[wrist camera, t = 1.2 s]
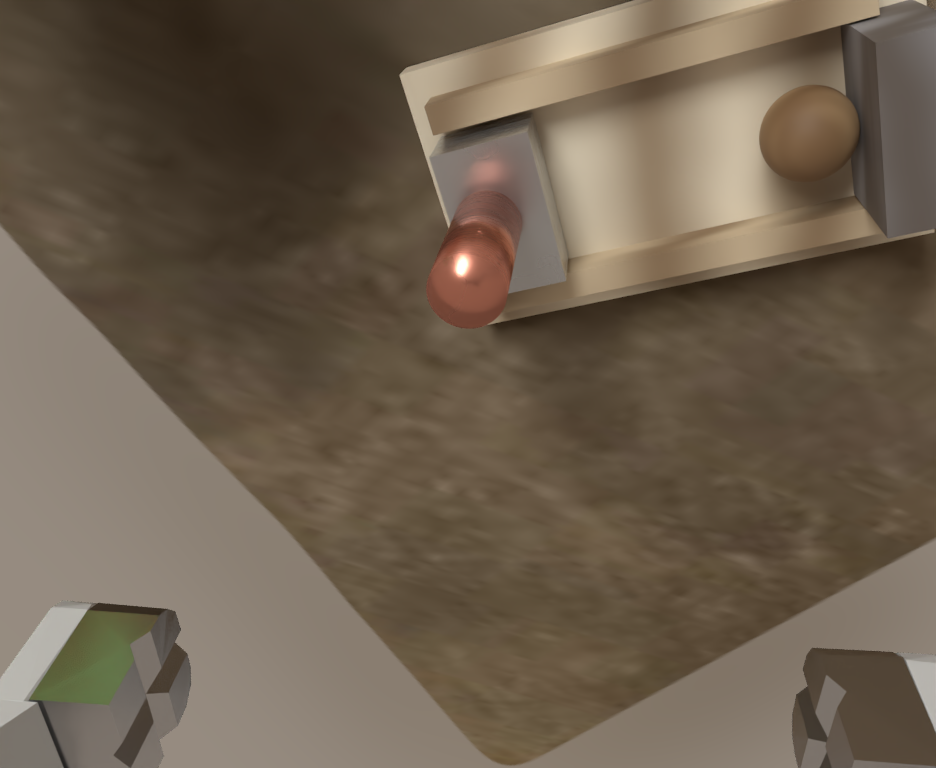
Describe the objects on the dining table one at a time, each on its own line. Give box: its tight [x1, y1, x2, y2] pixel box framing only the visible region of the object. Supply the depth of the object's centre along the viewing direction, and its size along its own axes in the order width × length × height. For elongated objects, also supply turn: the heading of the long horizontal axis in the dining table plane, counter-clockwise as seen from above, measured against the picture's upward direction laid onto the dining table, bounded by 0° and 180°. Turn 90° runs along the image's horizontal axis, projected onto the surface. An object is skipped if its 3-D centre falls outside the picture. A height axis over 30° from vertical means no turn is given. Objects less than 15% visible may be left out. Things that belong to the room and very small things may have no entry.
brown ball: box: [759, 85, 860, 182], centre depth 33 cm, size 4×4×4 cm
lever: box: [426, 112, 569, 328], centre depth 33 cm, size 4×6×10 cm, turn 17°
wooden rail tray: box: [399, 0, 936, 325], centre depth 34 cm, size 20×12×6 cm, turn 107°
